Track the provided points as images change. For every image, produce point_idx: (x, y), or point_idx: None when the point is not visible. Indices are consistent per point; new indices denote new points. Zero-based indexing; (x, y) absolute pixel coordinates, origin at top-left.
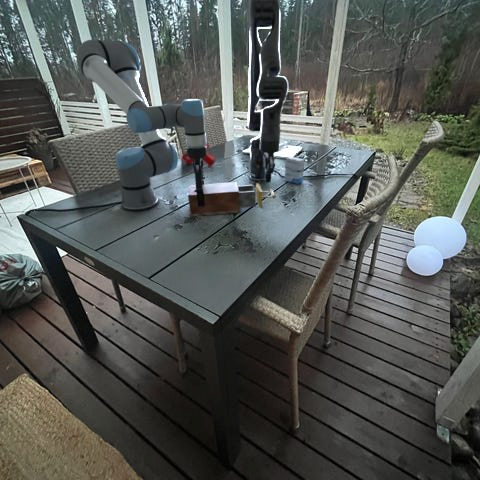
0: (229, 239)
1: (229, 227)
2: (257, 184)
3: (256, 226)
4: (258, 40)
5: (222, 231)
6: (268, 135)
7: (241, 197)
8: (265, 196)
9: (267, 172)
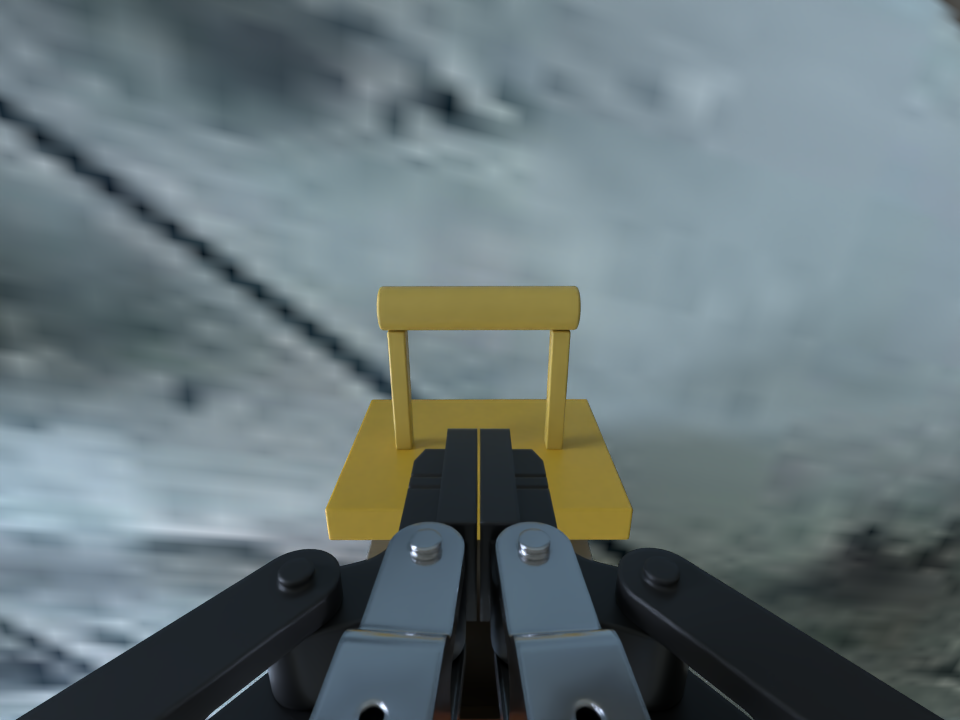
0: (911, 625)
1: None
2: (384, 530)
3: (814, 459)
4: None
5: None
6: None
7: None
8: (555, 408)
9: (703, 696)
